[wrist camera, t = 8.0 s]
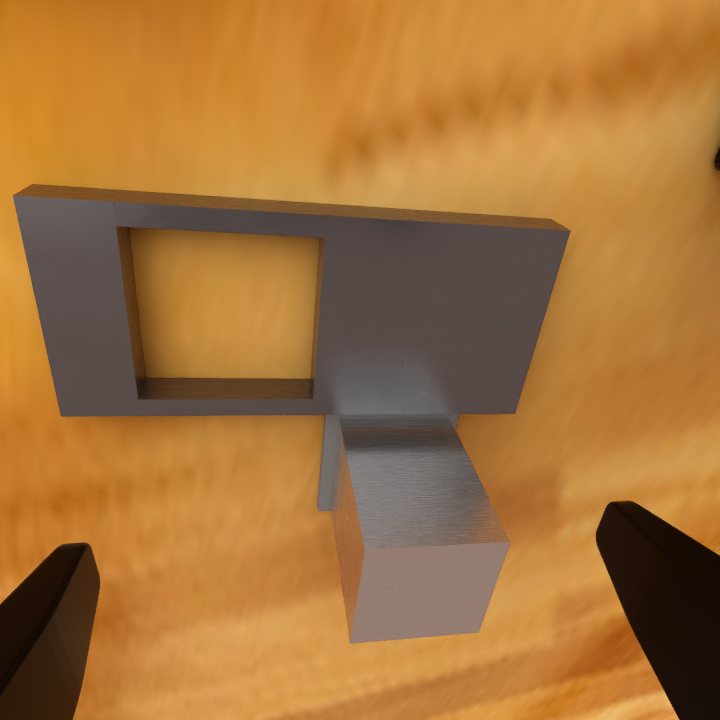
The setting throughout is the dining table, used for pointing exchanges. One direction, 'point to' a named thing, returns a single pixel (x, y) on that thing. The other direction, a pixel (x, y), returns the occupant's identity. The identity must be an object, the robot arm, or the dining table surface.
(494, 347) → the plate with rectangular hole
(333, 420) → the pad
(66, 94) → the dining table surface
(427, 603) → the brushed metal block
